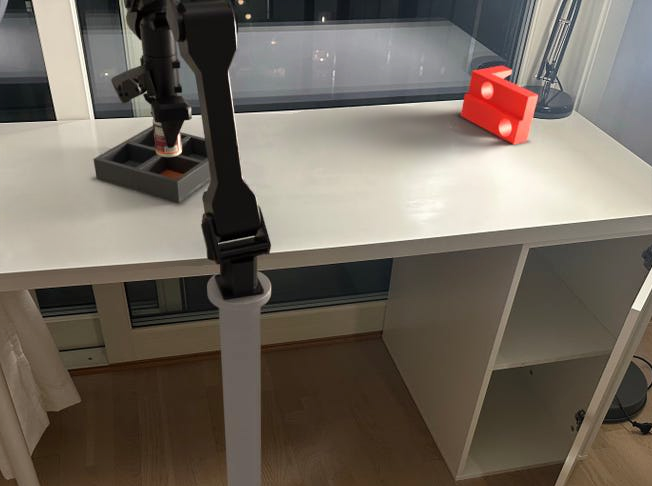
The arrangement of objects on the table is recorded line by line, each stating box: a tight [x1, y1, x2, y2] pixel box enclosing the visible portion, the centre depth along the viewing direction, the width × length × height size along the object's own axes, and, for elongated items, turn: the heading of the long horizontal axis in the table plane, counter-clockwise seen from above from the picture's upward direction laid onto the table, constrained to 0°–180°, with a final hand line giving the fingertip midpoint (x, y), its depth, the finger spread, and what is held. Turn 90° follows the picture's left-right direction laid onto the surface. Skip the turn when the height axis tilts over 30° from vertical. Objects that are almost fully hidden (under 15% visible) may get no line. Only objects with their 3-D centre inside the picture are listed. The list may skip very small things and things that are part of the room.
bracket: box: [460, 65, 539, 145], centre depth 160 cm, size 18×10×10 cm
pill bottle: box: [152, 117, 182, 157], centre depth 127 cm, size 5×5×8 cm
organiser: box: [92, 125, 211, 204], centre depth 137 cm, size 19×19×4 cm
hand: (168, 141), depth 128 cm, fingers closed on pill bottle, 5 cm apart
